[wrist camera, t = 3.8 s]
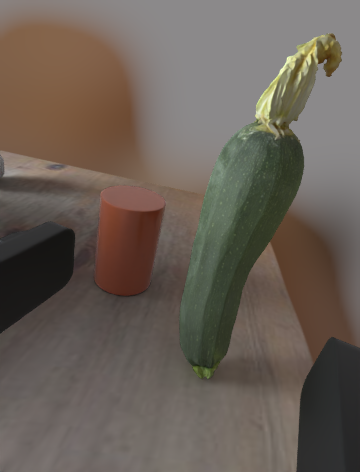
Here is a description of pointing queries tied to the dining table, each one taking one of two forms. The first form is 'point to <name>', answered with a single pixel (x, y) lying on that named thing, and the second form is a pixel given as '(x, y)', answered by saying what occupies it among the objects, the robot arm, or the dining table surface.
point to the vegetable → (247, 206)
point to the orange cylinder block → (127, 239)
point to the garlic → (1, 166)
